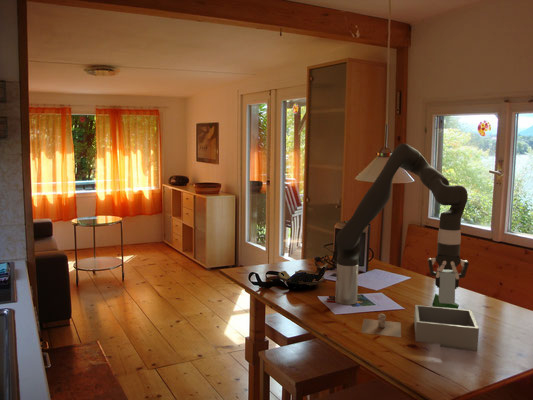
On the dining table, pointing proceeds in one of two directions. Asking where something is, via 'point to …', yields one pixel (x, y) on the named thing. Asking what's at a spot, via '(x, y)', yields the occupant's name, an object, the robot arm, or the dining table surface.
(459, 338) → the bin
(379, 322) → the stud block
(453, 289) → the pale grey rectangular block
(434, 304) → the clamp
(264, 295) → the dining table surface
